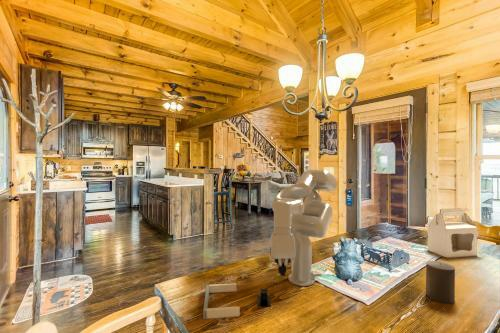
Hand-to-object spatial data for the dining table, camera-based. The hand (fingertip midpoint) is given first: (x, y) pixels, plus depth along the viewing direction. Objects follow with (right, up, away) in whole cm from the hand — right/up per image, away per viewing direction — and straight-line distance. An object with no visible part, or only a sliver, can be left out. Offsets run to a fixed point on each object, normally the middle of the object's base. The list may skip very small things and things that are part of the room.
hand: (282, 274), depth 103 cm
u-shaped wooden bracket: (-24, -11, -2) cm, 27 cm away
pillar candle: (+67, -11, +2) cm, 68 cm away
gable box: (+114, -10, +54) cm, 126 cm away
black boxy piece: (-8, -11, 0) cm, 14 cm away
